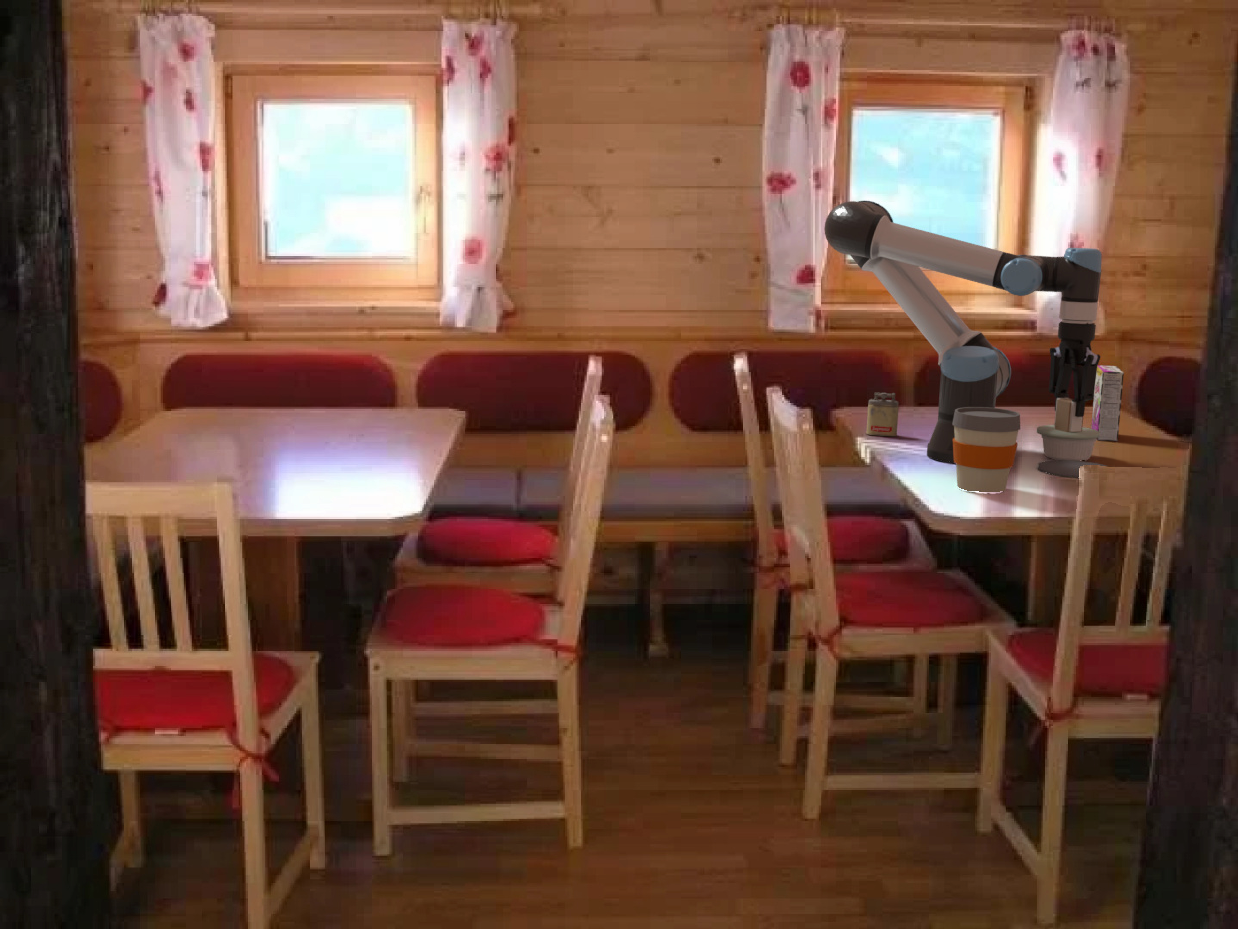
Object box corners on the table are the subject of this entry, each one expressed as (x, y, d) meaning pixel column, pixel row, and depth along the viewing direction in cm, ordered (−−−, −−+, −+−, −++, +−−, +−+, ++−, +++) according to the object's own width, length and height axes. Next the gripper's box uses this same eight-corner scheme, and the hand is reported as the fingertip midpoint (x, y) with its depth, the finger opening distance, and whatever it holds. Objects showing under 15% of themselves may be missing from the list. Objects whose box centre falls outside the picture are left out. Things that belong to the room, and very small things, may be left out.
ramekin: (1029, 454, 296) (1031, 430, 295) (1069, 451, 300) (1071, 428, 299) (1063, 464, 286) (1065, 439, 285) (1105, 461, 290) (1107, 437, 289)
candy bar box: (1089, 432, 324) (1095, 364, 321) (1111, 433, 323) (1117, 365, 320) (1095, 440, 314) (1102, 370, 310) (1118, 441, 313) (1125, 371, 309)
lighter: (865, 435, 314) (868, 392, 312) (866, 432, 317) (869, 390, 315) (896, 437, 312) (899, 394, 310) (897, 434, 316) (900, 392, 314)
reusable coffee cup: (1025, 496, 253) (1031, 417, 250) (960, 496, 252) (966, 417, 249) (1001, 482, 266) (1007, 407, 263) (939, 481, 265) (944, 406, 262)
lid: (1064, 440, 284) (1067, 406, 282) (1024, 430, 295) (1026, 397, 294) (1112, 437, 288) (1116, 404, 287) (1071, 427, 300) (1074, 395, 299)
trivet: (1070, 480, 269) (1070, 476, 268) (1022, 465, 282) (1023, 462, 282) (1130, 476, 274) (1130, 472, 274) (1080, 462, 288) (1080, 458, 287)
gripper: (1119, 325, 280) (1108, 435, 285) (1065, 317, 296) (1055, 422, 301) (1090, 325, 278) (1080, 437, 282) (1037, 317, 293) (1028, 423, 298)
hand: (1067, 429), depth 292 cm, fingers closed on lid, 4 cm apart
